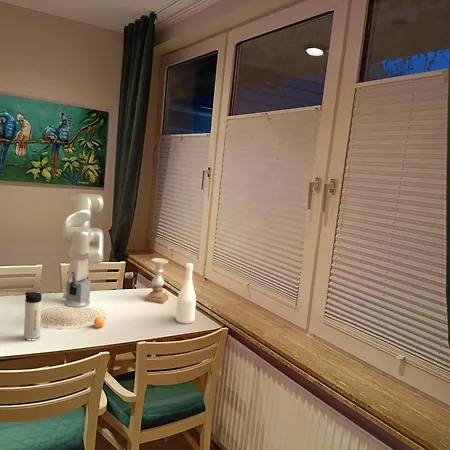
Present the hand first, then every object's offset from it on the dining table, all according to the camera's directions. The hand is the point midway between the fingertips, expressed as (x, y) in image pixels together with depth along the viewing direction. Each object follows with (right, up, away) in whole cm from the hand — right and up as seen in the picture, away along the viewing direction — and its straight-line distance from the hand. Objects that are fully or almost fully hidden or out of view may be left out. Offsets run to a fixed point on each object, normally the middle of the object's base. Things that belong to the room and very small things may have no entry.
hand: (77, 292), depth 205 cm
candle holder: (+30, -12, +48) cm, 58 cm away
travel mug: (-13, -17, -19) cm, 29 cm away
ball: (+10, -14, -1) cm, 17 cm away
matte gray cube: (0, -3, 0) cm, 3 cm away
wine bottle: (+49, -18, +19) cm, 55 cm away
